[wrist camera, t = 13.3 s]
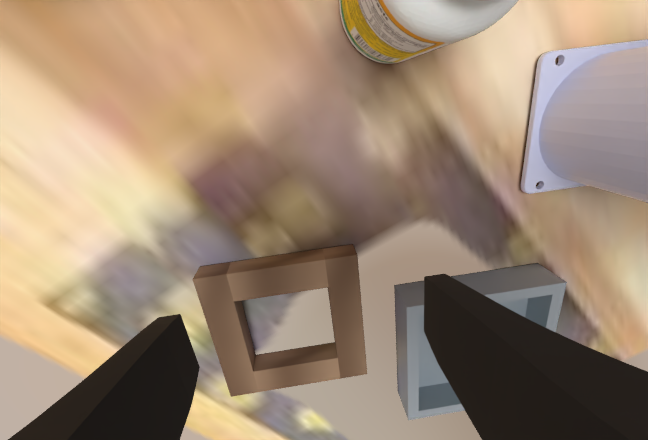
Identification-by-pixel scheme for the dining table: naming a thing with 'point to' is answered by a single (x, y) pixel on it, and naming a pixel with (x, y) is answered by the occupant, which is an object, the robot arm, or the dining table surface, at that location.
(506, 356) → the robot arm
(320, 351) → the tan square frame
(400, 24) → the supplement bottle
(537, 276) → the tray
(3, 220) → the dining table surface
